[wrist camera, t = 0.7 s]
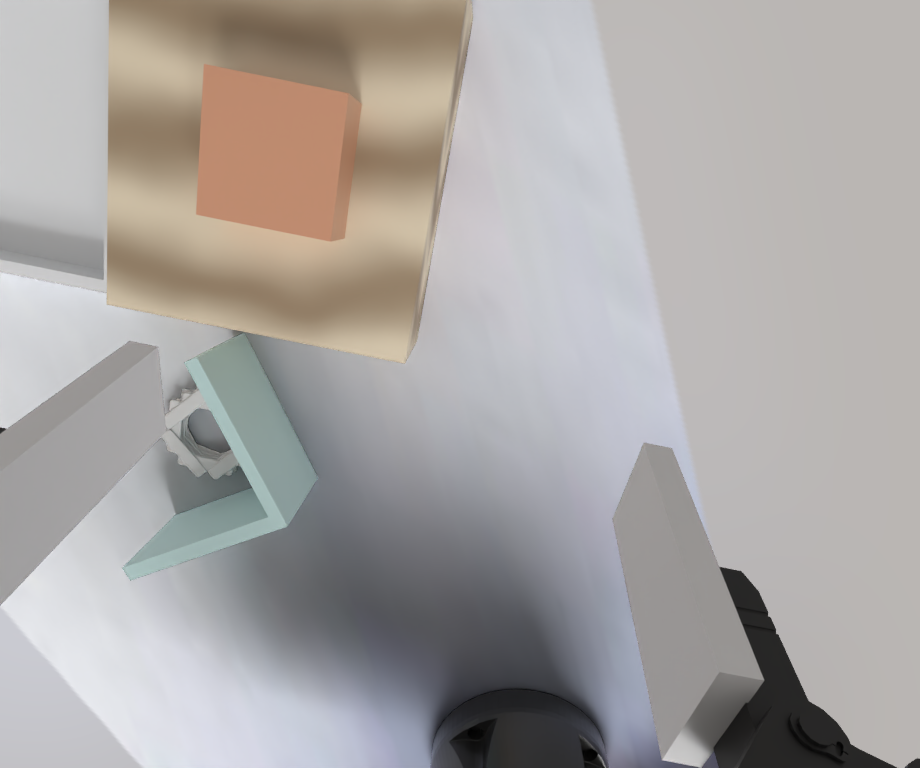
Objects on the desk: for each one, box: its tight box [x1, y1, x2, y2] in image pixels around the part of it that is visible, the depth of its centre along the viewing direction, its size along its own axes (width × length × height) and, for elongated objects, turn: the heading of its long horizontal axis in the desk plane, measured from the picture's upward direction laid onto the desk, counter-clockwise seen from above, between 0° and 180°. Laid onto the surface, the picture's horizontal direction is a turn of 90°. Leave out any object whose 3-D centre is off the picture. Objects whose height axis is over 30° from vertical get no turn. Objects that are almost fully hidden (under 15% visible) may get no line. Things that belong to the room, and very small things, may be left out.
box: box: [0, 0, 109, 293], centre depth 35 cm, size 20×13×4 cm, turn 169°
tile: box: [196, 64, 362, 242], centre depth 30 cm, size 7×7×3 cm
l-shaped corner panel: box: [123, 333, 318, 581], centre depth 40 cm, size 12×12×8 cm
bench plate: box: [107, 0, 473, 364], centre depth 34 cm, size 20×18×6 cm
